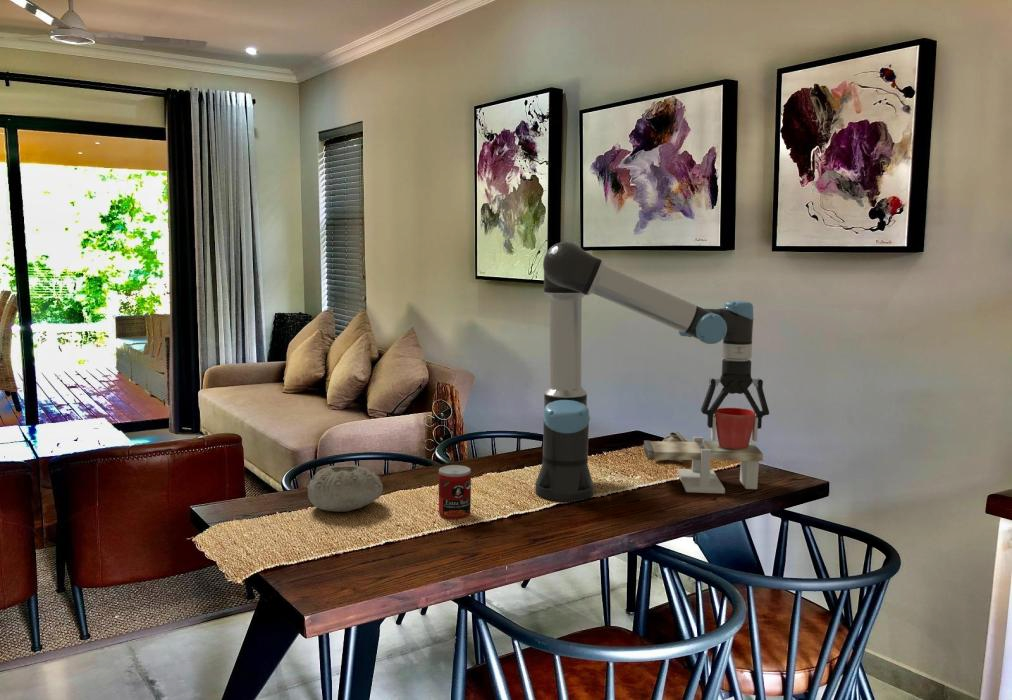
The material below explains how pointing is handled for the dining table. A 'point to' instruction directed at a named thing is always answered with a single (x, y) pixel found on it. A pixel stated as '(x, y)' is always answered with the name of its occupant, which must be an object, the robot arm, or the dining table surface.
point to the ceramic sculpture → (675, 440)
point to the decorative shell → (344, 488)
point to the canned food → (454, 491)
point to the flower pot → (734, 427)
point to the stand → (707, 480)
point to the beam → (699, 451)
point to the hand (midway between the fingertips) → (733, 439)
